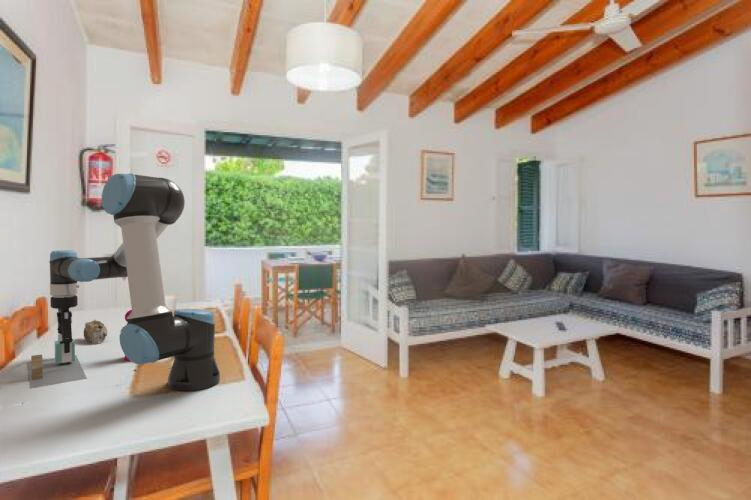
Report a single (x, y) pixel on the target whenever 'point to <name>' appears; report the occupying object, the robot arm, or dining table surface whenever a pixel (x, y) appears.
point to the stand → (57, 373)
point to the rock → (95, 332)
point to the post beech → (36, 367)
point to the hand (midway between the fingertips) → (64, 356)
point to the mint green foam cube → (59, 352)
